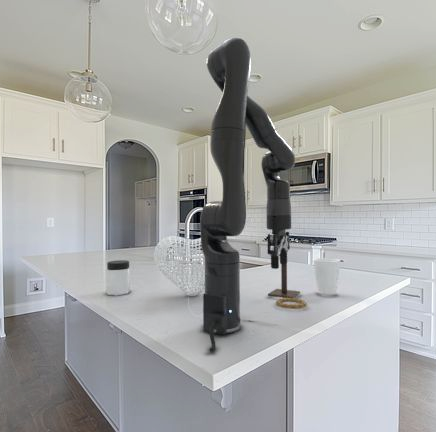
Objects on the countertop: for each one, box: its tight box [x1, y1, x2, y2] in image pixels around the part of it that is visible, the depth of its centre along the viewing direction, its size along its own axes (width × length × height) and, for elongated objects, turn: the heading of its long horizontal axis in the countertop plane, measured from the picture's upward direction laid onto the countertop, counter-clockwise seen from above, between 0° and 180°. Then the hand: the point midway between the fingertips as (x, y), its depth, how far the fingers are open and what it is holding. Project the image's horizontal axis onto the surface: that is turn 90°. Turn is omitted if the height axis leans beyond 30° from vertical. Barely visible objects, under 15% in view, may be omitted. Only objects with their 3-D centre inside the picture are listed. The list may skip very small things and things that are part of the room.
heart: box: [153, 235, 205, 297], centre depth 113 cm, size 28×16×22 cm, turn 94°
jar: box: [105, 259, 131, 297], centre depth 118 cm, size 9×8×12 cm
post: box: [267, 263, 301, 298], centre depth 111 cm, size 9×9×14 cm
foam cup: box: [313, 257, 341, 296], centre depth 113 cm, size 10×9×13 cm
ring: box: [275, 297, 308, 310], centre depth 99 cm, size 10×10×2 cm
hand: (279, 266), depth 95 cm, fingers open, 8 cm apart
